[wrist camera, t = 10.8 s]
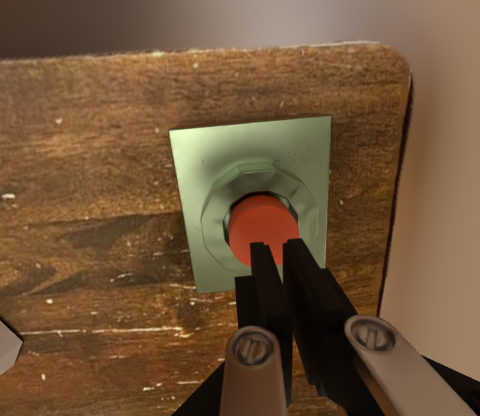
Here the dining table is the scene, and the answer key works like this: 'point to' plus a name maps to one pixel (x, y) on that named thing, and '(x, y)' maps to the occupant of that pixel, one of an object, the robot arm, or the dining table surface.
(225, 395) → the robot arm
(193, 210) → the button block
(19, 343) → the flask
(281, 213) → the button
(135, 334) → the dining table surface
